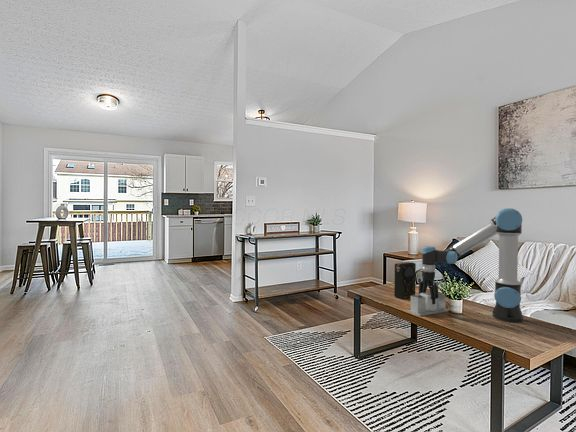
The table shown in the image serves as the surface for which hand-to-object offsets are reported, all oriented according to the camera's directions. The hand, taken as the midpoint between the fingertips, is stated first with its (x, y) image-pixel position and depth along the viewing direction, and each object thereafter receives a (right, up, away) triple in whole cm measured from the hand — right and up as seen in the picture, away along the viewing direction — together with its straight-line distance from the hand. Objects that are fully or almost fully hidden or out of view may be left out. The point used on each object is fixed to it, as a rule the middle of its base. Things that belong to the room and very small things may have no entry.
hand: (428, 307), depth 202 cm
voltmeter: (-2, -2, +34) cm, 34 cm away
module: (0, 0, 0) cm, 0 cm away
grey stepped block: (0, -2, 0) cm, 2 cm away
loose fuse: (+2, -2, +19) cm, 19 cm away
